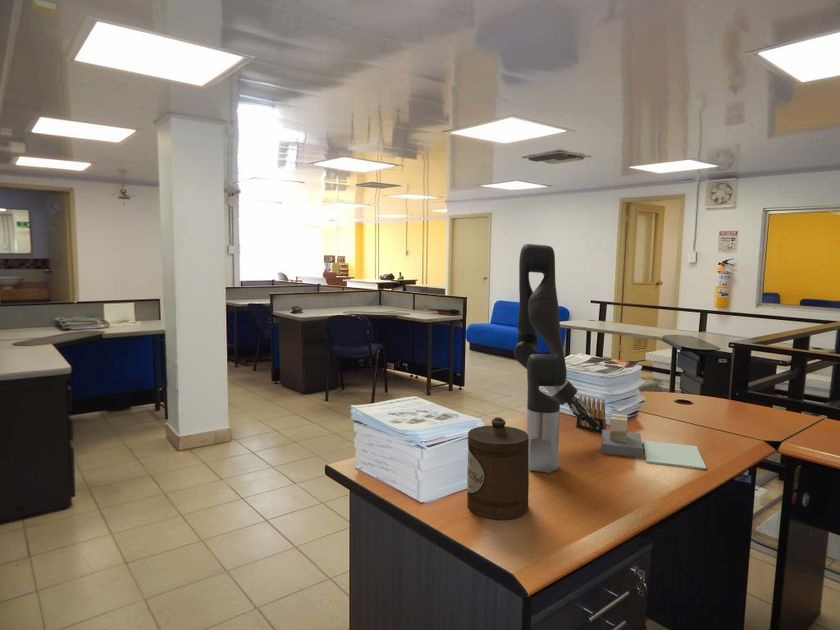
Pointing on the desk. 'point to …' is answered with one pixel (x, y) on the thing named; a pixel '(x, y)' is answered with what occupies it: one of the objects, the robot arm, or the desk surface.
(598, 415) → the ammunition clip
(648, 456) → the mat
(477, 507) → the wooden container
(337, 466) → the desk surface
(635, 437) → the plate
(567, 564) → the desk surface
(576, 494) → the desk surface
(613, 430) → the birch block
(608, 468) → the desk surface
